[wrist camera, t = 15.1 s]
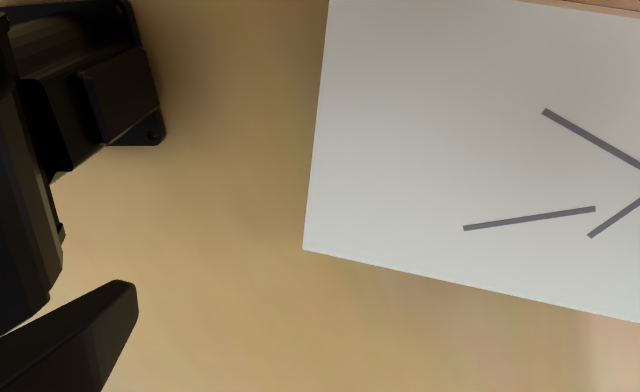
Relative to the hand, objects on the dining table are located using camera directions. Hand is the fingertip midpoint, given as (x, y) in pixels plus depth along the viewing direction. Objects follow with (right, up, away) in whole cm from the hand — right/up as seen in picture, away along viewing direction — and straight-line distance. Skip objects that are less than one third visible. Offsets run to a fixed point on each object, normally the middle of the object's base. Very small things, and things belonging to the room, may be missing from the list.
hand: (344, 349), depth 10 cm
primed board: (+10, +4, +10) cm, 15 cm away
